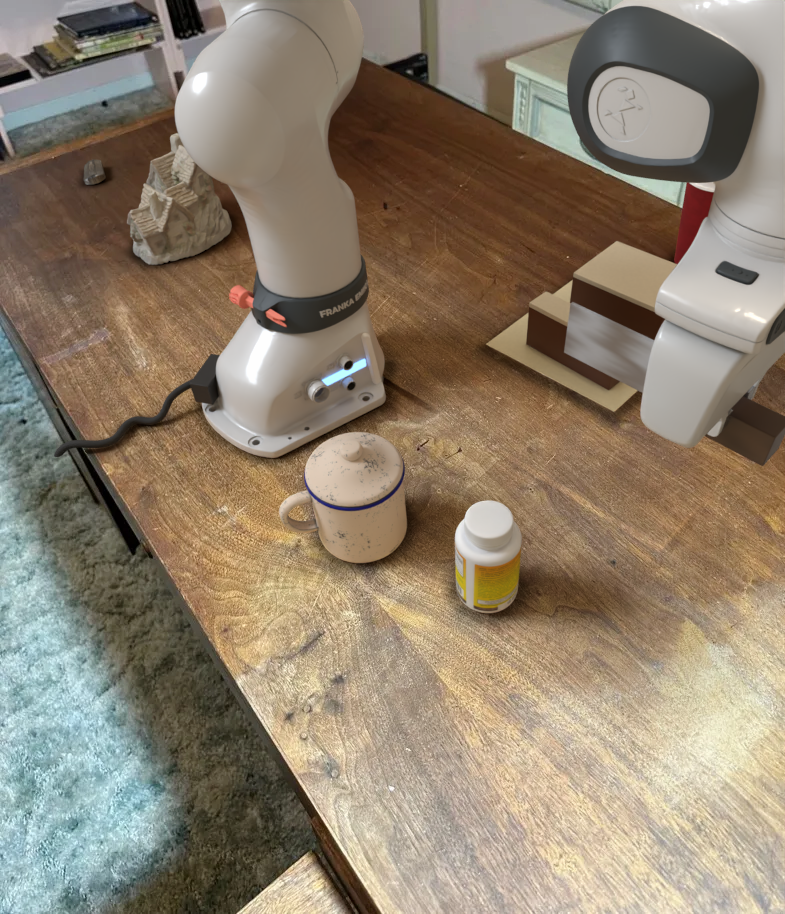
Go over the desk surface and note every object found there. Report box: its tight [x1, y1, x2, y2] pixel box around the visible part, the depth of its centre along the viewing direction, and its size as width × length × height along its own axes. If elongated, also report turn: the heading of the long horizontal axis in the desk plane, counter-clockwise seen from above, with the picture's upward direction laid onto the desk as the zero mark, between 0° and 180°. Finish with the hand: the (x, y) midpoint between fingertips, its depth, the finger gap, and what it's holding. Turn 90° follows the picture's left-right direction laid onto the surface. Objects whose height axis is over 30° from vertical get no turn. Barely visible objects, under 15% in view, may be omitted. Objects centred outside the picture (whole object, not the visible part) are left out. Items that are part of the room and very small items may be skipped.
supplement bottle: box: [454, 499, 523, 614], centre depth 65 cm, size 6×6×10 cm
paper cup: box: [673, 182, 715, 264], centre depth 96 cm, size 8×8×14 cm
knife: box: [564, 302, 785, 467], centre depth 57 cm, size 18×2×5 cm, turn 45°
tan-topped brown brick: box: [526, 291, 620, 390], centre depth 86 cm, size 3×12×6 cm, turn 42°
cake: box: [570, 240, 677, 340], centre depth 91 cm, size 9×12×6 cm
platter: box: [485, 279, 639, 413], centre depth 92 cm, size 23×18×1 cm
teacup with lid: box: [278, 431, 408, 564], centre depth 70 cm, size 12×9×12 cm
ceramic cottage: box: [126, 132, 232, 266], centre depth 111 cm, size 16×16×15 cm
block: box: [83, 159, 107, 186], centre depth 130 cm, size 4×6×2 cm, turn 19°
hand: (723, 414), depth 56 cm, fingers closed on knife, 2 cm apart
